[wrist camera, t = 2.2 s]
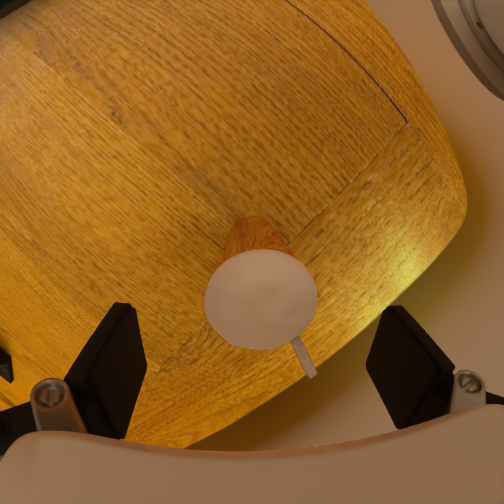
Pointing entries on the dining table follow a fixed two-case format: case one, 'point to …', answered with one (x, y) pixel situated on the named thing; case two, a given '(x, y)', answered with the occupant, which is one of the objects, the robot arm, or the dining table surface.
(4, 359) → the handheld gaming console
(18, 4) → the shelf unit
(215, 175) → the dining table surface
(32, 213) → the dining table surface
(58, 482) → the robot arm
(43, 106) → the dining table surface
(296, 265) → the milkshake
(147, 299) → the dining table surface
